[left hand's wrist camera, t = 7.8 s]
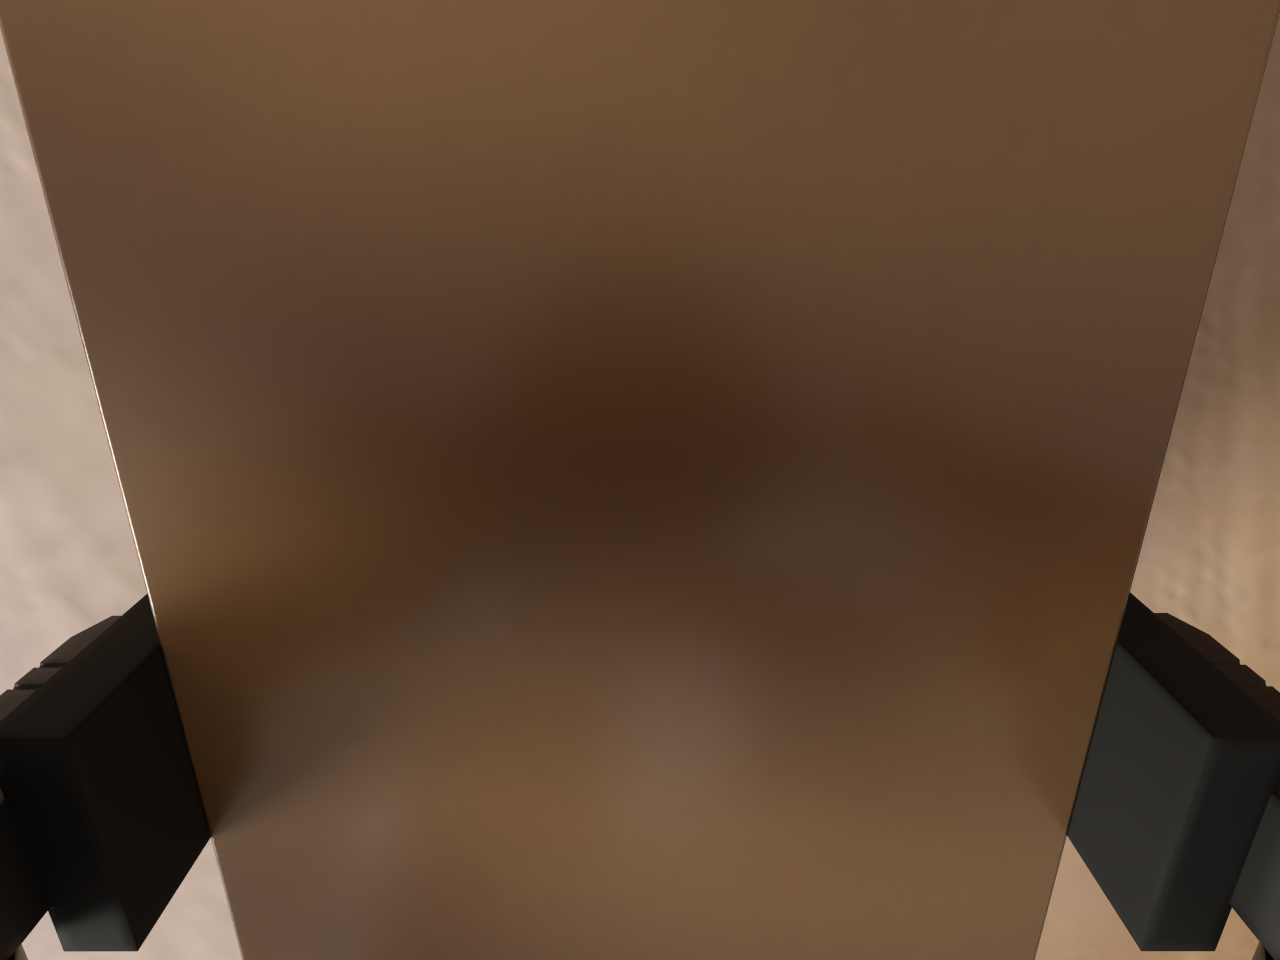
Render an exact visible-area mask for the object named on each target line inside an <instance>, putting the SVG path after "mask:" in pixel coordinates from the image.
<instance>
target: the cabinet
mask: <svg viewBox="0 0 1280 960" xmlns="http://www.w3.org/2000/svg"><path fill="white" fill-rule="evenodd" d="M1279 13H1280V0H0V27H1V31H2V35H3V39H4V43H5V46H6V50H7V54H8V58H9V62H10V66H11V70H12V73H13V77H14V81H15V85H16V89H17V93H18V96H19V100H20V104H21V108H22V112H23V116H24V120H25V123H26V127H27V131H28V135H29V139H30V143H31V147H32V150H33V154H34V158H35V162H36V166H37V170H38V174H39V177H40V181H41V185H42V189H43V193H44V197H45V200H46V204H47V208H48V212H49V216H50V220H51V224H52V227H53V231H54V235H55V239H56V243H57V247H58V251H59V254H60V258H61V262H62V266H63V270H64V274H65V278H66V281H67V285H68V289H69V293H70V297H71V301H72V304H73V308H74V312H75V316H76V320H77V324H78V328H79V331H80V335H81V339H82V343H83V347H84V351H85V355H86V358H87V362H88V366H89V370H90V374H91V378H92V382H93V385H94V389H95V393H96V397H97V401H98V405H99V408H100V412H101V416H102V420H103V424H104V428H105V432H106V435H107V439H108V443H109V447H110V451H111V455H112V459H113V462H114V466H115V470H116V474H117V478H118V482H119V486H120V489H121V493H122V497H123V501H124V505H125V509H126V512H127V516H128V520H129V524H130V528H131V532H132V536H133V539H134V543H135V547H136V551H137V555H138V559H139V563H140V566H141V570H142V574H143V578H144V582H145V586H146V590H147V593H148V597H149V601H150V605H151V609H152V613H153V616H154V620H155V624H156V628H157V632H158V636H159V640H160V643H161V647H162V651H163V655H164V659H165V663H166V667H167V670H168V674H169V678H170V682H171V686H172V690H173V694H174V697H175V701H176V705H177V709H178V713H179V717H180V720H181V724H182V728H183V732H184V736H185V740H186V744H187V747H188V751H189V755H190V759H191V763H192V767H193V771H194V774H195V778H196V782H197V786H198V790H199V794H200V798H201V801H202V805H203V809H204V813H205V817H206V821H207V824H208V828H209V832H210V836H211V840H212V844H213V848H214V851H215V855H216V859H217V863H218V867H219V871H220V875H221V878H222V882H223V886H224V890H225V894H226V898H227V902H228V905H229V909H230V913H231V917H232V921H233V925H234V928H235V932H236V936H237V940H238V944H239V948H240V952H241V955H242V959H243V960H1035V956H1036V952H1037V948H1038V945H1039V941H1040V937H1041V933H1042V929H1043V925H1044V921H1045V918H1046V914H1047V910H1048V906H1049V902H1050V898H1051V894H1052V890H1053V887H1054V883H1055V879H1056V875H1057V871H1058V867H1059V863H1060V859H1061V856H1062V852H1063V848H1064V844H1065V840H1066V836H1067V832H1068V829H1069V825H1070V821H1071V817H1072V813H1073V809H1074V805H1075V801H1076V798H1077V794H1078V790H1079V786H1080V782H1081V778H1082V774H1083V771H1084V767H1085V763H1086V759H1087V755H1088V751H1089V747H1090V743H1091V740H1092V736H1093V732H1094V728H1095V724H1096V720H1097V716H1098V713H1099V709H1100V705H1101V701H1102V697H1103V693H1104V689H1105V685H1106V682H1107V678H1108V674H1109V670H1110V666H1111V662H1112V658H1113V655H1114V651H1115V647H1116V643H1117V639H1118V635H1119V631H1120V627H1121V624H1122V620H1123V616H1124V612H1125V608H1126V604H1127V600H1128V597H1129V593H1130V589H1131V585H1132V581H1133V577H1134V573H1135V569H1136V566H1137V562H1138V558H1139V554H1140V550H1141V546H1142V542H1143V539H1144V535H1145V531H1146V527H1147V523H1148V519H1149V515H1150V511H1151V508H1152V504H1153V500H1154V496H1155V492H1156V488H1157V484H1158V481H1159V477H1160V473H1161V469H1162V465H1163V461H1164V457H1165V453H1166V450H1167V446H1168V442H1169V438H1170V434H1171V430H1172V426H1173V423H1174V419H1175V415H1176V411H1177V407H1178V403H1179V399H1180V395H1181V392H1182V388H1183V384H1184V380H1185V376H1186V372H1187V368H1188V365H1189V361H1190V357H1191V353H1192V349H1193V345H1194V341H1195V337H1196V334H1197V330H1198V326H1199V322H1200V318H1201V314H1202V310H1203V307H1204V303H1205V299H1206V295H1207V291H1208V287H1209V283H1210V279H1211V276H1212V272H1213V268H1214V264H1215V260H1216V256H1217V252H1218V249H1219V245H1220V241H1221V237H1222V233H1223V229H1224V225H1225V221H1226V218H1227V214H1228V210H1229V206H1230V202H1231V198H1232V194H1233V191H1234V187H1235V183H1236V179H1237V175H1238V171H1239V167H1240V163H1241V160H1242V156H1243V152H1244V148H1245V144H1246V140H1247V136H1248V133H1249V129H1250V125H1251V121H1252V117H1253V113H1254V109H1255V105H1256V102H1257V98H1258V94H1259V90H1260V86H1261V82H1262V78H1263V75H1264V71H1265V67H1266V63H1267V59H1268V55H1269V51H1270V47H1271V44H1272V40H1273V36H1274V32H1275V28H1276V24H1277V20H1278V16H1279Z"/></svg>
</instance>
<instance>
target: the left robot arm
mask: <svg viewBox="0 0 1280 960" xmlns="http://www.w3.org/2000/svg"><path fill="white" fill-rule="evenodd" d="M1239 661H1240V660H1239V659H1238V658H1237V657H1236V656H1234V655H1233V654H1232V653H1231V652H1230V651H1228V650H1227V649H1226V648H1225V647H1223V646H1222V645H1221V644H1220V643H1219V642H1217V641H1216V640H1215V639H1214V638H1212V637H1211V636H1210V635H1209V634H1207V633H1205V632H1203V631H1201V630H1199V629H1197V628H1195V627H1193V626H1191V625H1189V624H1187V623H1186V622H1184V621H1182V620H1180V619H1178V618H1176V617H1174V616H1172V615H1170V614H1168V613H1153V612H1152V611H1151V610H1150V609H1149V608H1147V607H1146V606H1145V605H1144V604H1143V603H1142V602H1140V601H1139V600H1138V599H1137V598H1136V597H1135V596H1134V595H1132V594H1131V593H1129V597H1128V600H1127V604H1126V608H1125V612H1124V616H1123V620H1122V624H1121V627H1120V631H1119V635H1118V639H1117V643H1116V647H1115V651H1114V655H1113V658H1112V662H1111V666H1110V670H1109V674H1108V678H1107V682H1106V685H1105V689H1104V693H1103V697H1102V701H1101V705H1100V709H1099V713H1098V716H1097V720H1096V724H1095V728H1094V732H1093V736H1092V740H1091V743H1090V747H1089V751H1088V755H1087V759H1086V763H1085V767H1084V771H1083V774H1082V778H1081V782H1080V786H1079V790H1078V794H1077V798H1076V801H1075V805H1074V809H1073V813H1072V817H1071V821H1070V825H1069V829H1068V832H1067V836H1068V837H1069V839H1070V840H1071V842H1072V844H1073V845H1074V847H1075V848H1076V850H1077V851H1078V853H1079V855H1080V856H1081V858H1082V859H1083V861H1084V862H1085V864H1086V865H1087V867H1088V869H1089V870H1090V872H1091V873H1092V875H1093V876H1094V878H1095V880H1096V881H1097V883H1098V884H1099V886H1100V887H1101V889H1102V890H1103V892H1104V894H1105V895H1106V897H1107V898H1108V900H1109V901H1110V903H1111V905H1112V906H1113V908H1114V909H1115V911H1116V912H1117V914H1118V915H1119V917H1120V919H1121V920H1122V922H1123V923H1124V925H1125V926H1126V928H1127V930H1128V931H1129V933H1130V934H1131V936H1132V937H1133V939H1134V940H1135V942H1136V944H1137V945H1138V947H1139V948H1140V950H1141V951H1215V949H1216V947H1217V944H1218V942H1219V939H1220V937H1221V934H1222V931H1223V929H1224V926H1225V924H1226V921H1227V919H1228V916H1229V913H1230V911H1231V908H1233V909H1234V910H1235V911H1236V913H1237V914H1238V915H1239V916H1240V918H1241V919H1242V920H1243V921H1244V923H1245V924H1246V925H1247V926H1248V928H1249V929H1250V930H1251V931H1252V933H1253V934H1254V935H1255V936H1256V938H1257V939H1258V940H1259V941H1260V942H1259V944H1258V947H1257V949H1256V951H1255V954H1254V956H1253V959H1252V960H1280V692H1278V691H1277V690H1276V689H1275V688H1273V687H1272V686H1266V684H1265V680H1264V679H1262V678H1261V677H1260V676H1259V675H1258V674H1256V673H1255V672H1254V671H1253V670H1252V669H1250V668H1249V667H1248V666H1247V665H1240V662H1239ZM210 837H211V836H210V832H209V828H208V824H207V821H206V817H205V813H204V809H203V805H202V801H201V798H200V794H199V790H198V786H197V782H196V778H195V774H194V771H193V767H192V763H191V759H190V755H189V751H188V747H187V744H186V740H185V736H184V732H183V728H182V724H181V720H180V717H179V713H178V709H177V705H176V701H175V697H174V694H173V690H172V686H171V682H170V678H169V674H168V670H167V667H166V663H165V659H164V655H163V651H162V647H161V643H160V640H159V636H158V632H157V628H156V624H155V620H154V616H153V613H152V609H151V605H150V601H149V597H148V594H147V595H145V596H144V597H143V598H142V599H141V600H140V601H138V602H137V603H136V604H135V605H134V606H133V607H132V608H130V609H129V610H128V611H127V612H126V613H125V614H123V615H122V616H111V617H109V618H107V619H105V620H103V621H102V622H100V623H98V624H96V625H94V626H92V627H90V628H88V629H86V630H84V631H82V632H80V633H78V634H76V635H75V636H73V637H71V638H70V639H68V640H67V641H66V642H65V643H63V644H62V645H61V646H60V647H59V648H57V649H56V650H55V651H54V652H53V653H51V654H50V655H49V656H48V657H47V658H45V659H44V660H43V661H42V662H40V667H39V668H33V669H32V670H31V671H30V672H28V673H27V674H26V675H25V676H23V677H22V678H21V679H20V680H19V681H17V682H16V683H15V684H14V689H13V690H7V691H5V692H4V693H3V694H2V695H0V960H28V959H27V956H26V954H25V951H24V949H23V947H22V944H21V943H22V942H23V941H24V940H25V938H26V937H27V936H28V935H29V933H30V932H31V931H32V930H33V928H34V927H35V926H36V925H37V923H38V922H39V921H40V920H41V918H42V917H43V916H44V914H45V913H46V912H47V911H49V914H50V917H51V919H52V922H53V924H54V927H55V929H56V932H57V935H58V937H59V940H60V942H61V945H62V947H63V950H64V951H138V950H139V948H140V947H141V945H142V944H143V942H144V940H145V939H146V937H147V936H148V934H149V933H150V931H151V930H152V928H153V926H154V925H155V923H156V922H157V920H158V919H159V917H160V915H161V914H162V912H163V911H164V909H165V908H166V906H167V905H168V903H169V901H170V900H171V898H172V897H173V895H174V894H175V892H176V890H177V889H178V887H179V886H180V884H181V883H182V881H183V880H184V878H185V876H186V875H187V873H188V872H189V870H190V869H191V867H192V865H193V864H194V862H195V861H196V859H197V858H198V856H199V855H200V853H201V851H202V850H203V848H204V847H205V845H206V844H207V842H208V841H209V839H210Z"/></svg>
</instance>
